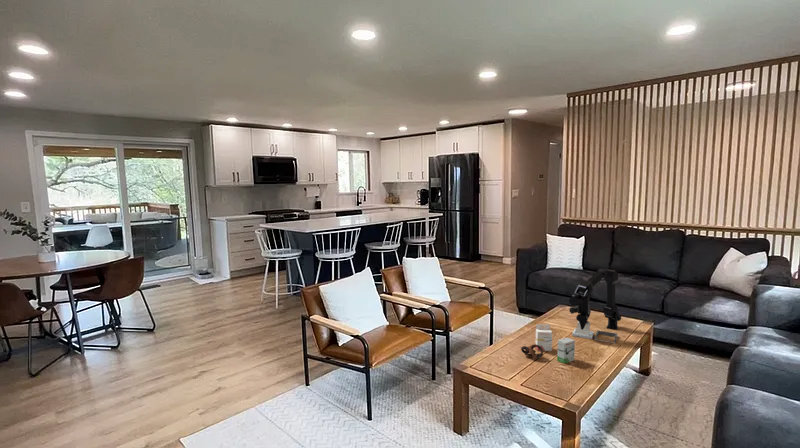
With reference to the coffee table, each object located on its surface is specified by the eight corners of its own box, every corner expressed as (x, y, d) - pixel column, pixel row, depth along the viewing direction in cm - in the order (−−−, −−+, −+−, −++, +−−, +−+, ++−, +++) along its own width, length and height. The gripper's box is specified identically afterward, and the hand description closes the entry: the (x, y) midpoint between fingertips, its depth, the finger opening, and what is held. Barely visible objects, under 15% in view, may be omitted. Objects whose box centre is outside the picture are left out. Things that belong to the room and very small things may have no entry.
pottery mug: (539, 354, 235) (544, 345, 231) (539, 367, 228) (544, 358, 223) (518, 347, 237) (523, 338, 232) (518, 360, 229) (523, 351, 225)
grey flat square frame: (596, 333, 263) (597, 330, 263) (617, 336, 257) (617, 333, 257) (594, 339, 253) (594, 336, 253) (615, 343, 247) (615, 340, 246)
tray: (574, 331, 268) (574, 328, 267) (594, 334, 261) (594, 331, 261) (572, 336, 259) (572, 333, 259) (592, 339, 253) (592, 336, 253)
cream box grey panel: (578, 331, 264) (578, 319, 263) (589, 333, 261) (590, 321, 260) (576, 334, 260) (577, 321, 259) (588, 336, 256) (589, 323, 256)
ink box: (564, 363, 221) (564, 343, 220) (556, 360, 226) (557, 340, 224) (574, 360, 225) (575, 339, 224) (567, 357, 230) (568, 336, 228)
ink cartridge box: (537, 350, 238) (537, 326, 237) (535, 347, 243) (535, 323, 242) (552, 351, 237) (552, 327, 236) (549, 347, 242) (550, 324, 241)
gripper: (573, 298, 270) (572, 320, 272) (567, 305, 254) (567, 329, 256) (591, 300, 264) (590, 323, 266) (587, 308, 249) (586, 332, 250)
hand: (583, 327), depth 260 cm, fingers open, 9 cm apart
